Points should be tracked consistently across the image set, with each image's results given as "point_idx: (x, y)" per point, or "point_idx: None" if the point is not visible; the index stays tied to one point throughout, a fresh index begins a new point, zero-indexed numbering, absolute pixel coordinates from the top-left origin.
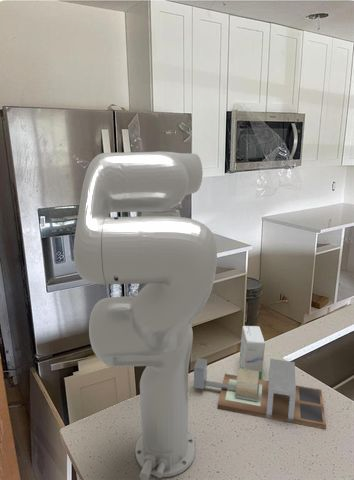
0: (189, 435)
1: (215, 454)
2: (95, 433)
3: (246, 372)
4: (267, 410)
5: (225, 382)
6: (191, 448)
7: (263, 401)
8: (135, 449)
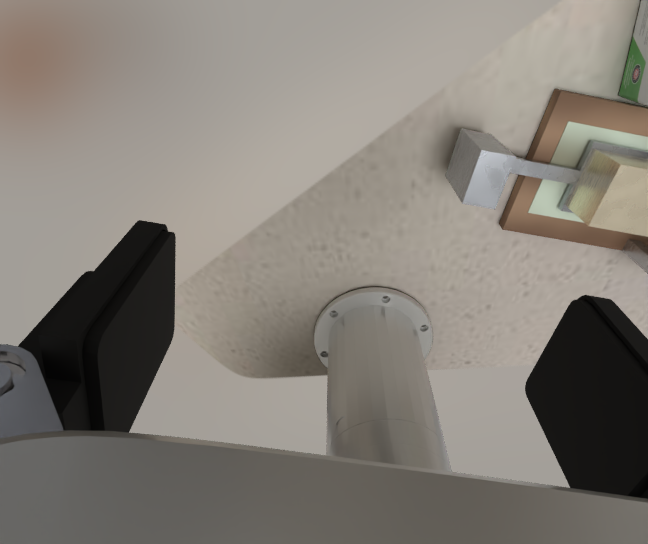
0: (422, 316)
1: (469, 334)
2: (220, 307)
3: (637, 185)
4: (628, 254)
5: (549, 138)
6: (424, 342)
7: None
8: (315, 349)
